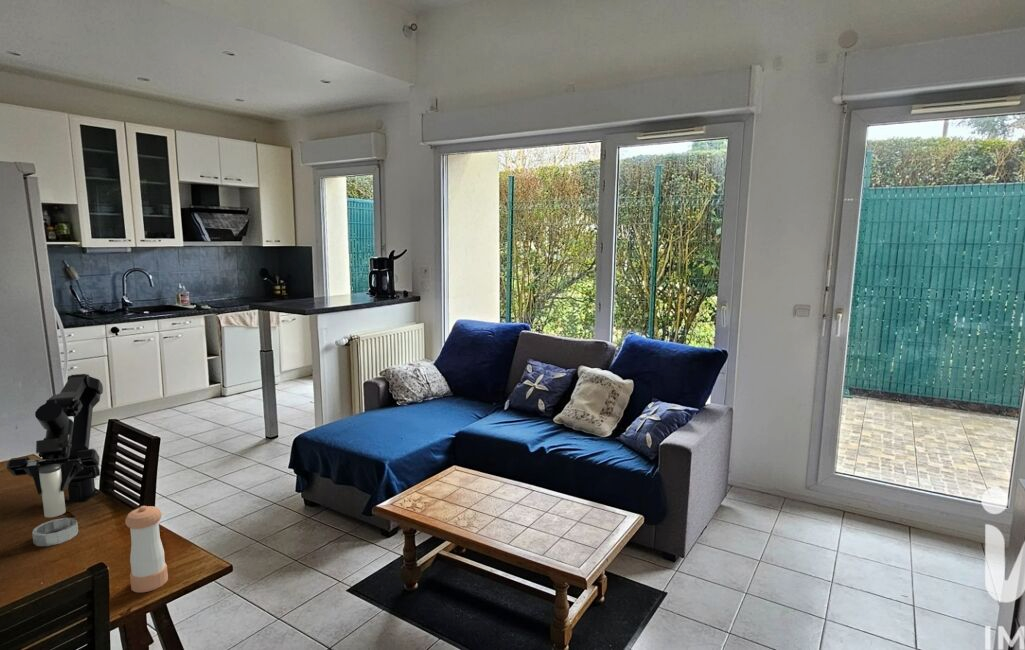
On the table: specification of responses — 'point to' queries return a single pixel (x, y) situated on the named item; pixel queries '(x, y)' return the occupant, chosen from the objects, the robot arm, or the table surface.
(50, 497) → the peg
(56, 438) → the robot arm
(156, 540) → the pepper shaker
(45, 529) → the collar
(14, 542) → the table surface
